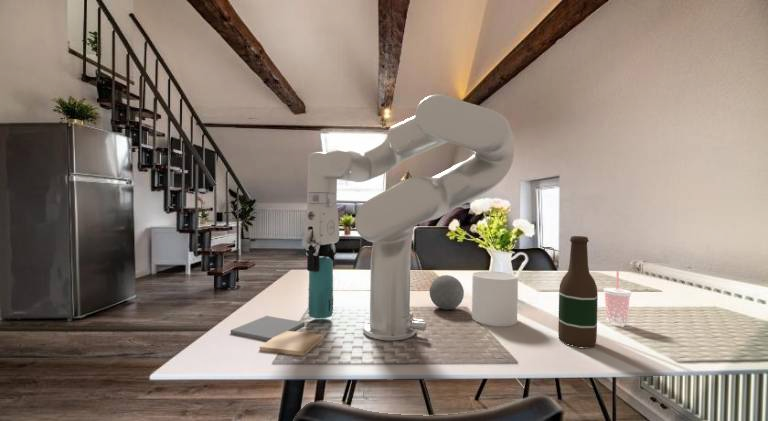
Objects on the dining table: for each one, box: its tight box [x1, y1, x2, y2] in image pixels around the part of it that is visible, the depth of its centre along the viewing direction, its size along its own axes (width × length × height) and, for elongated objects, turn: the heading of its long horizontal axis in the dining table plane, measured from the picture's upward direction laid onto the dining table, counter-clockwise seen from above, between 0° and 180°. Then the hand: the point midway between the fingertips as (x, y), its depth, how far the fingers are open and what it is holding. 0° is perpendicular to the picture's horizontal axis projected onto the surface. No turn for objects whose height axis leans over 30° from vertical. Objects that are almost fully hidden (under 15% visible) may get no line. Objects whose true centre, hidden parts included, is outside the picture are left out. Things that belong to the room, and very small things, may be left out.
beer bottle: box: [558, 235, 599, 348], centre depth 81 cm, size 8×8×24 cm
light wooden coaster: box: [259, 330, 325, 357], centre depth 77 cm, size 10×10×1 cm
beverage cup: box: [603, 270, 632, 325], centre depth 94 cm, size 6×6×14 cm
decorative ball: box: [429, 274, 465, 311], centre depth 105 cm, size 10×10×10 cm
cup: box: [471, 271, 519, 328], centre depth 96 cm, size 12×12×12 cm
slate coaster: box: [230, 315, 305, 342], centre depth 86 cm, size 12×12×1 cm
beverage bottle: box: [307, 244, 334, 319], centre depth 93 cm, size 6×7×20 cm
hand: (321, 268), depth 93 cm, fingers closed on beverage bottle, 6 cm apart
